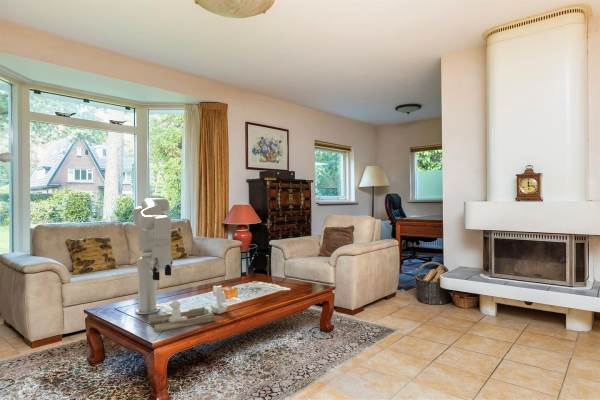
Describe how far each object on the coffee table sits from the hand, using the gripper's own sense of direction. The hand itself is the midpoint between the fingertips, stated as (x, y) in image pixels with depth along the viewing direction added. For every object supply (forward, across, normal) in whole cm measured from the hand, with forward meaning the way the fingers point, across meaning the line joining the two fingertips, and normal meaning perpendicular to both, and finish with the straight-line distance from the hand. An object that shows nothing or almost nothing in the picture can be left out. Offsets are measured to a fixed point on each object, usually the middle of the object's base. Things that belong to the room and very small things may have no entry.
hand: (162, 277), depth 178 cm
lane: (+27, -15, +1) cm, 31 cm away
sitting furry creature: (+27, -14, 0) cm, 31 cm away
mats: (+27, -7, -7) cm, 29 cm away
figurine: (+27, -35, +13) cm, 47 cm away
